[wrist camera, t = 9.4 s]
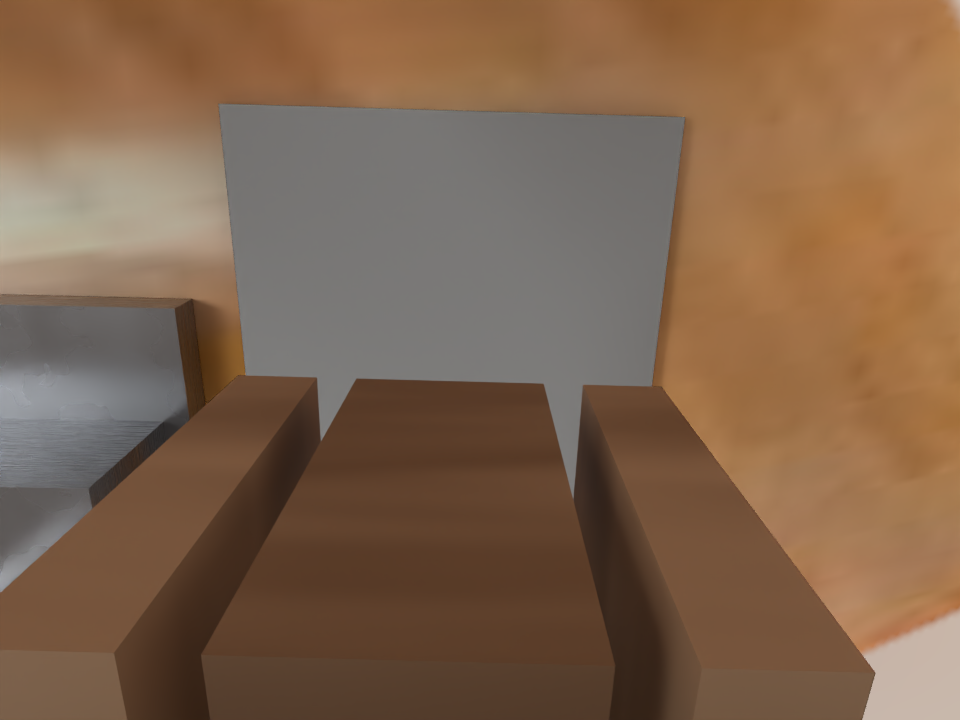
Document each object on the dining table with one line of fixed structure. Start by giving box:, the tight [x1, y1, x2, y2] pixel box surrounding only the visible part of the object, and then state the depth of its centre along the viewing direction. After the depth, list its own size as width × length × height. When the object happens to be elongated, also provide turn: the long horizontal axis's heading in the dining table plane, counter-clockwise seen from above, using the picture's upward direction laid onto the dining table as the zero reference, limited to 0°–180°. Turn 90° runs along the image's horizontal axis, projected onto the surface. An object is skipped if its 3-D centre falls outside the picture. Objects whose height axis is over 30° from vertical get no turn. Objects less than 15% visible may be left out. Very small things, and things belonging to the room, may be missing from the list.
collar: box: [0, 375, 875, 720], centre depth 9 cm, size 7×7×6 cm
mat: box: [218, 104, 685, 497], centre depth 24 cm, size 16×16×1 cm
